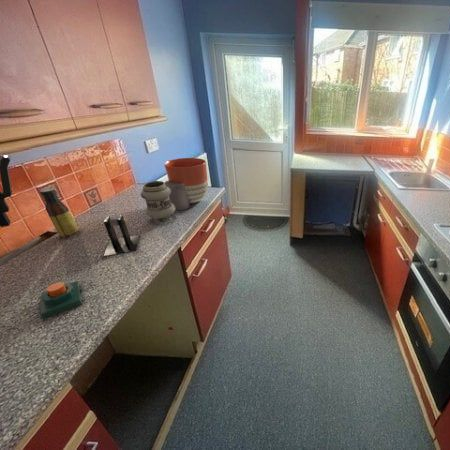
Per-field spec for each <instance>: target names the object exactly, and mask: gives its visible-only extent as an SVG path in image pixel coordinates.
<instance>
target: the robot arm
mask: <svg viewBox="0 0 450 450" xmlns="http://www.w3.org/2000/svg"><path fill="white" fill-rule="evenodd" d="M11 160H12V157H11V156H10V155H7V154H6V155H5V154H0V181H1V187H2V191H1V190H0V228H4V227H9V226H10V225H11V220H10V218H9V216H8V214H7V213H9V211H10V207H9V205H8V203H7V201H6V198H10V197H11V196H12V194H13V189H12V182H11V174H10V168H9V164H10V162H11Z"/></svg>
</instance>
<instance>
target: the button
mask: <svg viewBox="0 0 450 450" xmlns="http://www.w3.org/2000/svg"><path fill="white" fill-rule="evenodd" d="M64 284H65V283H64V282H62V281H61V282H55V283H52V284H51V285H48V286H47V287H46V290H47V292H48V294H49V296H51V297H55V296H58V295H61V294H62V293H64V292H66V290H67V289H66V287H65V285H64ZM46 290H45V291H46Z"/></svg>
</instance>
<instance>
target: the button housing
mask: <svg viewBox="0 0 450 450" xmlns="http://www.w3.org/2000/svg"><path fill="white" fill-rule="evenodd" d="M64 285H65V287H66V289H67V290H66V292H64V293H62V294H61V295H58V296H55V297H51V296H49V294H48V292H47V290H45V291H42V292H41V294H40V295H41V297H40V313H39V314H40V317H42V319H43V320H44V319H47V318H50V317H52V316H55V315H58V314H61V313H64V312H66V311H69V310H71V309H74V308H77V307H80V306H83V299H82V293H81V288H80V283H79V281H78V280H76V281H73V282H70V283H69V282H67V283H64Z"/></svg>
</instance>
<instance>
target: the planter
mask: <svg viewBox="0 0 450 450" xmlns="http://www.w3.org/2000/svg"><path fill="white" fill-rule="evenodd" d="M163 165H164V168H165V172H166V175H167V179H168V180H167V181H171V182H175V183H184V185H185V190H186V193H187V197H188V199H189V202H190V204H196V203H198V202H200V201H202V200H203V199H204V198H205V197H206V195H207V193H208V188H209V182H208V181H209V180H208V169H207V161H206V160H205V159H203V158H198V157H181V158H174V159H169V160H168V161H165V162H164V164H163Z"/></svg>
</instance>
